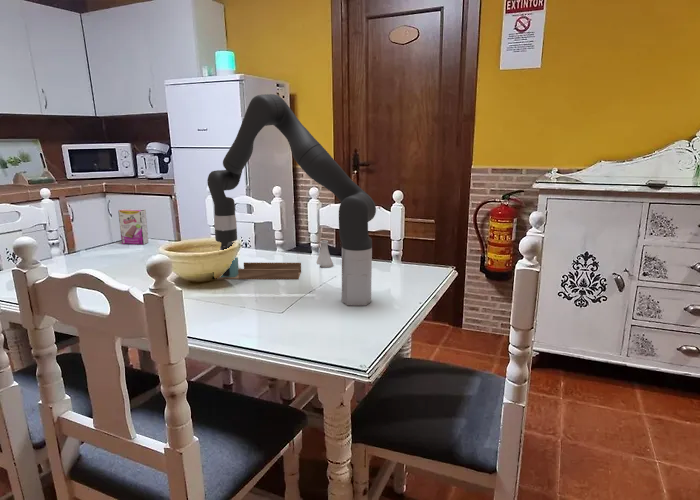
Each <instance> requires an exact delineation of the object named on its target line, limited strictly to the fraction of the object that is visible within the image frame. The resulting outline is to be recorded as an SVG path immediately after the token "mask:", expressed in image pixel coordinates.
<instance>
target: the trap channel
mask: <svg viewBox="0 0 700 500" xmlns="http://www.w3.org/2000/svg"><path fill="white" fill-rule="evenodd" d="M301 274H302V262H243V268H239V269H238V275H237V276H236V277H219V278H217V279H216V280H299V279H300V277H301Z"/></svg>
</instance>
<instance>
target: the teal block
mask: <svg viewBox="0 0 700 500" xmlns="http://www.w3.org/2000/svg"><path fill="white" fill-rule="evenodd" d="M235 257H236V256H235ZM238 269H240V268H239V257H236V258H235V260H233V261H232V264H231V266H230V268H229V271H230V275H229V276H223V275H222V276H221V277H236V276H237V275H238Z"/></svg>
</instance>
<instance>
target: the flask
mask: <svg viewBox="0 0 700 500" xmlns="http://www.w3.org/2000/svg"><path fill="white" fill-rule="evenodd" d="M319 242H320V250H319V253H318V256H317V260H316V262H315V263H316V264H317V265H319V268H332V267H333V266H334V263H333V260H332V257H331V254H330V251H329V247H328V245H329V241H328V240H325V239H324V240H320V241H319Z"/></svg>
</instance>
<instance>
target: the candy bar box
mask: <svg viewBox="0 0 700 500" xmlns="http://www.w3.org/2000/svg"><path fill="white" fill-rule="evenodd" d="M118 221H119V229H120V230H119V231H120V240H121V245H141V246H144V245H147V244H149V236H148V235H149V233H148V223H147V222H148V221H147V212H146V209H143V208H142V209H141V208H138V209H137V208H122V209H118Z"/></svg>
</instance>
